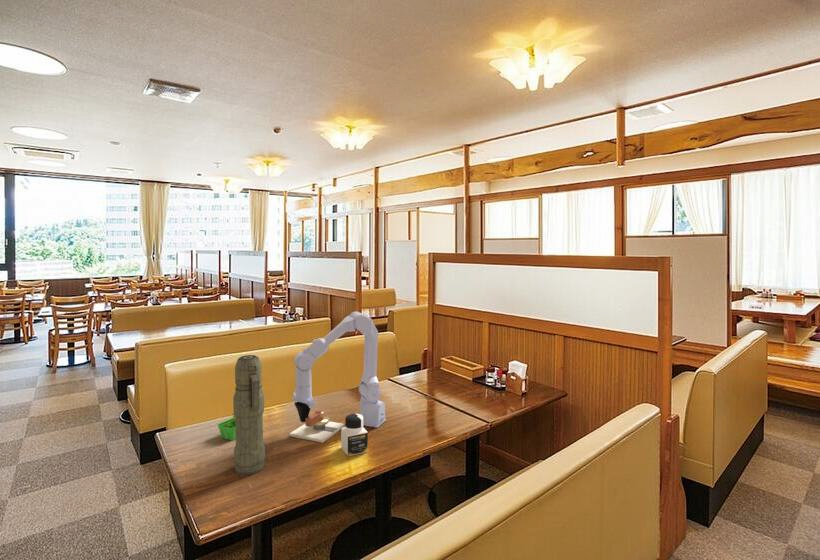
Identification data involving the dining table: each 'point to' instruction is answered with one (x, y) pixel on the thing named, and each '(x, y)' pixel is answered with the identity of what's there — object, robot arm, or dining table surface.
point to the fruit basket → (228, 429)
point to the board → (317, 431)
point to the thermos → (248, 416)
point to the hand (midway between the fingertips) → (303, 421)
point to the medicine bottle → (354, 435)
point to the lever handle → (316, 419)
